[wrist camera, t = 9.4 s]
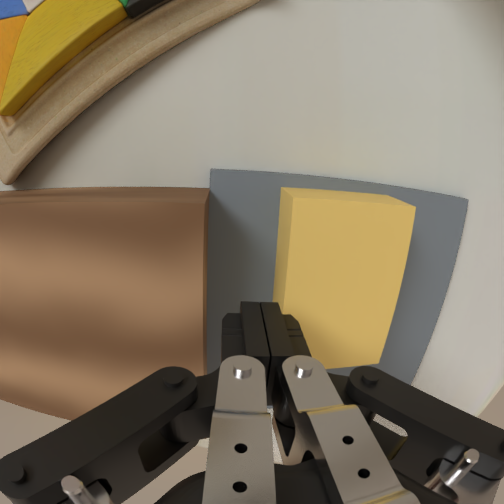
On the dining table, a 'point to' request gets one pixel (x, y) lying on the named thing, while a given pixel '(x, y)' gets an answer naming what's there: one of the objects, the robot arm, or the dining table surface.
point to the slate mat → (265, 246)
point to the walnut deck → (99, 292)
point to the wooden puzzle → (80, 59)
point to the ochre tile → (341, 269)
